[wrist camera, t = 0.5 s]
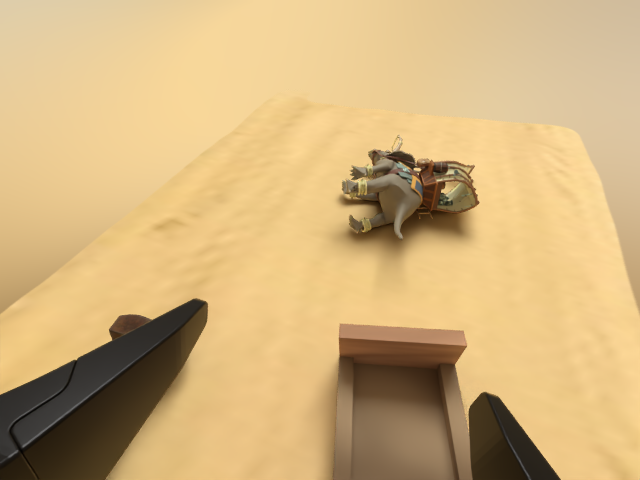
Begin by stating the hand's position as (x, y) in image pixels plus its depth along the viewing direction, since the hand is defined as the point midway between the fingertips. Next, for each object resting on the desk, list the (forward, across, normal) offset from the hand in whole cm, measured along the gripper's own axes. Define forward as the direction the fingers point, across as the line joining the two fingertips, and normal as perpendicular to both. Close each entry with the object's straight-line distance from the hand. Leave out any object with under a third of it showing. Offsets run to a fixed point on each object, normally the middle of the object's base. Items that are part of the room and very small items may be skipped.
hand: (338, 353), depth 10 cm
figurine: (+29, -6, +5) cm, 30 cm away
